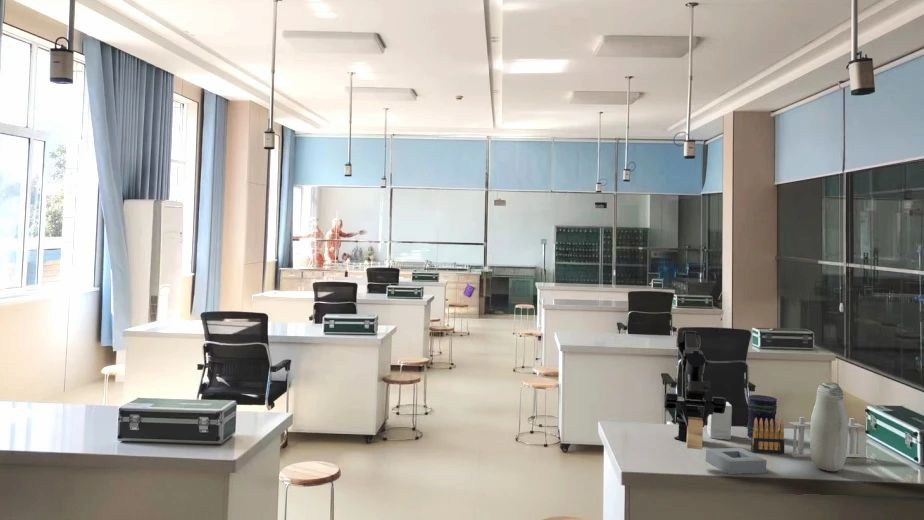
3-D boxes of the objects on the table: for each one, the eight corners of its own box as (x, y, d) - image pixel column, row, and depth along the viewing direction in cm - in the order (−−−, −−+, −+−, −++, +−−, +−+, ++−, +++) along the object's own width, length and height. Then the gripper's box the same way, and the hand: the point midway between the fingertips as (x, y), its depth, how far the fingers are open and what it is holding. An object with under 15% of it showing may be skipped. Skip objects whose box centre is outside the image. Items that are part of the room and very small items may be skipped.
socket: (705, 460, 219) (706, 448, 219) (741, 459, 221) (741, 447, 221) (728, 474, 206) (729, 461, 206) (766, 472, 208) (766, 460, 208)
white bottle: (852, 473, 210) (856, 386, 210) (826, 476, 207) (830, 387, 207) (827, 463, 220) (831, 379, 219) (802, 465, 217) (805, 380, 216)
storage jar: (780, 441, 245) (782, 401, 244) (753, 440, 245) (755, 400, 244) (768, 434, 255) (769, 395, 254) (742, 433, 255) (744, 394, 254)
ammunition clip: (782, 452, 231) (783, 418, 231) (784, 454, 229) (786, 419, 229) (750, 450, 232) (752, 416, 232) (752, 452, 230) (754, 418, 230)
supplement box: (731, 440, 245) (732, 406, 244) (709, 438, 246) (711, 404, 246) (727, 434, 252) (728, 401, 252) (706, 432, 253) (708, 400, 253)
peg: (686, 444, 215) (687, 416, 215) (700, 445, 214) (701, 417, 214) (687, 448, 211) (688, 420, 211) (702, 449, 210) (703, 421, 210)
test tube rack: (856, 454, 232) (858, 417, 232) (864, 458, 227) (866, 420, 227) (786, 453, 231) (788, 415, 231) (793, 457, 226) (795, 418, 226)
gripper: (666, 368, 218) (666, 409, 208) (726, 373, 213) (730, 415, 203) (664, 387, 226) (664, 427, 215) (722, 392, 221) (725, 433, 211)
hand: (695, 425), depth 211 cm, fingers closed on peg, 4 cm apart
